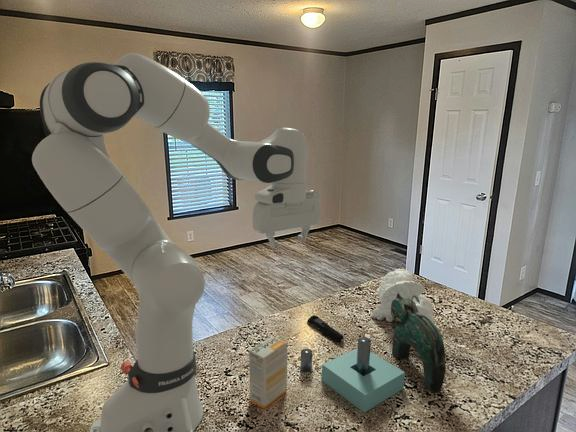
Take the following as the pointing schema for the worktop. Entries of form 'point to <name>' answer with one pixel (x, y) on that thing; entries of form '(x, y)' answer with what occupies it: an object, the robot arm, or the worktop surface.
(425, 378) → the ceramic cat
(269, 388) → the supplement box
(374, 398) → the hole block
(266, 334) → the worktop surface
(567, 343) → the worktop surface
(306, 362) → the short pin
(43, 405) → the worktop surface
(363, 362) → the long pin
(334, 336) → the electric trimmer
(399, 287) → the white lumpy sculpture
